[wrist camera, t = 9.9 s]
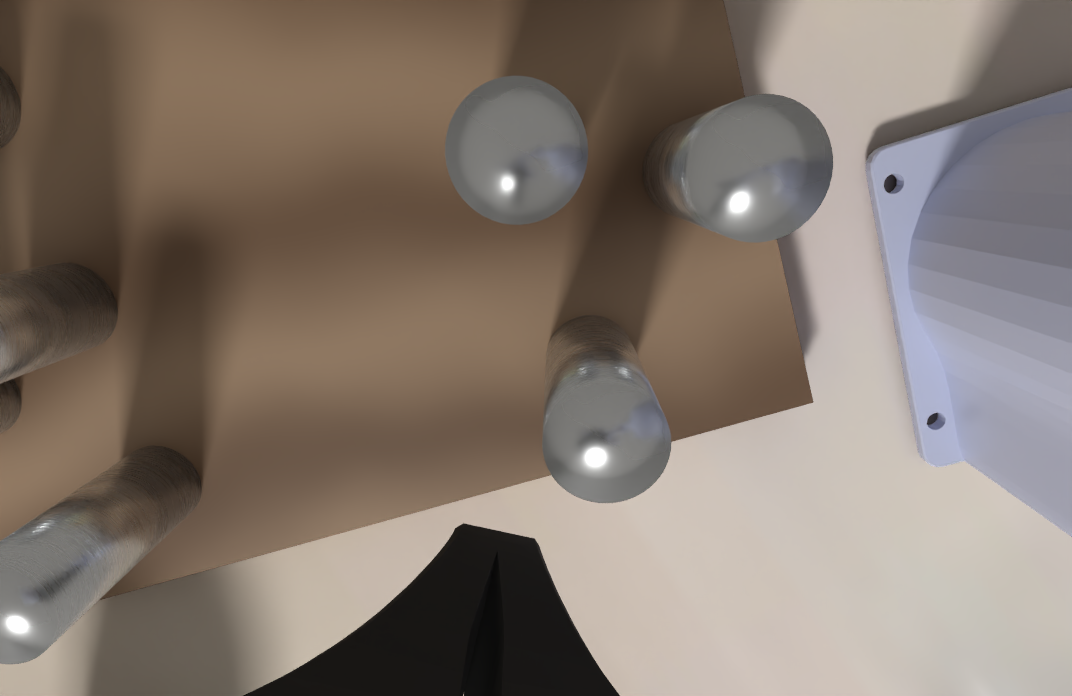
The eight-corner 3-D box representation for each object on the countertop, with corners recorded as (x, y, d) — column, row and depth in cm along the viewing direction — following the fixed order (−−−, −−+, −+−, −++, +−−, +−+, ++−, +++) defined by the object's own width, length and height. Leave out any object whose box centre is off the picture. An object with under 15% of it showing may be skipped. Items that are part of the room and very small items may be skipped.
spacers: (781, 346, 18) (887, 429, 12) (29, 561, 21) (-178, 717, 15) (652, -211, 15) (714, -448, 9) (-220, 117, 17) (-607, 92, 12)
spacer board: (794, 385, 20) (813, 402, 19) (75, 586, 22) (43, 615, 21) (655, -222, 16) (664, -260, 15) (-192, 98, 19) (-254, 91, 17)
